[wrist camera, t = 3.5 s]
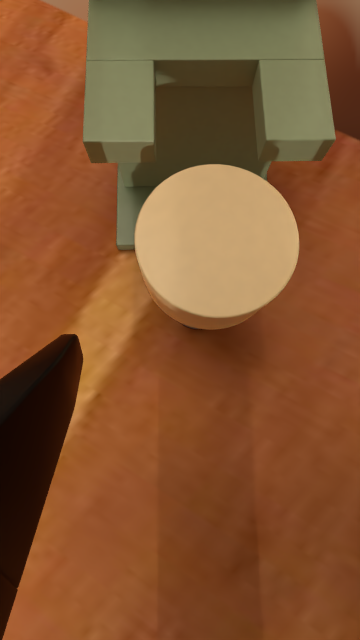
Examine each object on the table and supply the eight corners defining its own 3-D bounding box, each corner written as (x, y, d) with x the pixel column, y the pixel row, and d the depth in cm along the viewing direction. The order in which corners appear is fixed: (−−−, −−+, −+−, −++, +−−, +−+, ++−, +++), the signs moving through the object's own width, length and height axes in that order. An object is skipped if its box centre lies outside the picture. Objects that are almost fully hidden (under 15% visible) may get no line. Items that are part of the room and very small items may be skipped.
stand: (269, 247, 21) (408, 59, 9) (118, 250, 21) (32, 60, 8) (260, 149, 23) (368, -133, 10) (119, 150, 23) (49, -137, 10)
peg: (209, 364, 20) (247, 351, 10) (138, 318, 20) (100, 259, 10) (252, 294, 21) (328, 214, 10) (183, 252, 21) (191, 136, 11)
